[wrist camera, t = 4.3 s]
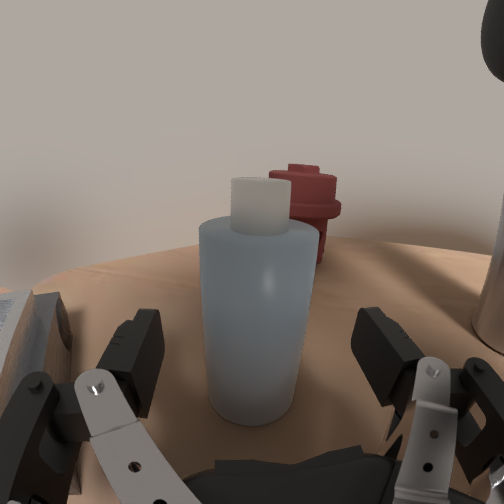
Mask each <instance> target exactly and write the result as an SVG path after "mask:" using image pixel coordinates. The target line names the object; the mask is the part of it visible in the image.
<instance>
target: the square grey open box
mask: <svg viewBox="0 0 504 504" xmlns="http://www.w3.org/2000/svg"><path fill="white" fill-rule="evenodd" d="M71 347H72V333H71V330H70V325H69V320H68V316H67V312H66V309H65V306H64V303H63V301H62V300H61V296H60V292H53V293H46V294H39V295H33V291H32V289H30V290H23V291H17V292H10V293H3V294H0V418H1V416H2V414H3V412H4V410H5V408H6V406H7V404H8V403H9V401H10V399H11V397H12V395H13V394H14V392H15V390H16V388H17V387H18V385H19V383H20V382H21V380H22V379H23V378H24V377H25V376H26V375H28V374H30V373H32V372H37V371H41V372H45V373H47V374H49V375H50V376H51V378H52V380H53V382H54V384H58V383H70V366H71ZM77 494H81V491H80V487H79V481H78V476H77V470H76V465H75V469H74V473H73V477H72V481H71V485H70V490H69V494H68V495H77Z"/></svg>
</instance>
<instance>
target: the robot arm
mask: <svg viewBox="0 0 504 504" xmlns="http://www.w3.org/2000/svg"><path fill="white" fill-rule="evenodd" d="M481 48H482V54H483V58H484V61H485V63H486V65H487V67H488V68H489V70H490V71H491V73H492V74H493V75H494V76H495V77H497V78H498V79H499V80H501V81H502V82H504V0H488V3H487V6H486V9H485V13H484V17H483V22H482V30H481ZM472 326H473V328H474V330H475V332H476V333H477V335H478V336H479V337H480V338H481V339H482V340H483V341H484V342H485V343H487V344H488V345H489V346H490V347H492V348H493V349H495V350H496V351H498V352H500V353H502V354H504V195H503V203H502V210H501V216H500V222H499V228H498V233H497V237H496V242H495V246H494V251H493V254H492V258H491V262H490V266H489V269H488V273H487V276H486V280H485V283H484V286H483V289H482V292H481V295H480V298H479V300H478V303H477V306H476V309H475V311H474V314H473V316H472ZM109 343H110V344H108V346H107V348H106V350H105V352H104V353H103V355H102V357H101V359H100V361H99V363H98V365H97V367H96V369H91V370H88V371H85V372H83V373H82V374H81V375H80V376H79V377H78V378H77V379H76V381H75V383H58V384H54V382H53V380H52V378H51V376H50V375H49V374H47V373H45V372H41V371H37V372H32V373H30V374H28V375H26V376H25V377H24V378H23V379H22V380H21V382H20V383H19V385H18V387H17V388H16V390H15V392H14V394H13V395H12V397H11V399H10V401H9V403H8V404H7V406H6V408H5V410H4V412H3V414H2V416H1V418H0V504H67V499H68V494H69V490H70V485H71V481H72V477H73V473H74V469H75V465H76V461H77V458H78V454H79V450H80V447H81V443H82V441H90V442H91V445H92V447H93V449H94V452H95V454H96V456H97V458H98V460H99V463H100V465H101V467H102V469H103V471H104V473H105V475H106V477H107V479H108V481H109V483H110V484H111V486H112V488H113V490H114V492H115V493H116V495H117V497H118V499H119V500H120V502H121V504H504V382H503V381H502V379H501V378H500V377H499V376H498V374H497V373H496V372H495V371H494V370H493V368H492V367H491V366H490V365H489V364H488V363H487V362H486V361H484V360H483V359H480V358H476V357H472V358H469V359H468V360H467V361H466V363H465V364H464V366H463V368H462V369H450V368H449V367H448V365H447V364H446V363H445V362H444V361H442V360H441V359H438V358H436V357H425V355H424V354H423V353H422V352H421V350H420V349H419V348H418V347H417V346H416V344H415V343H414V342H413V341H412V340H411V338H409V336H408V335H407V334H406V332H404V330H403V329H402V328H401V326H400V325H399V324H398V323H396V322H395V321H393V320H392V319H390V318H389V317H386V315H385V314H384V313H383V312H382V311H381V310H380V308H378V307H369V308H361V309H360V310H359V312H358V315H357V319H356V323H355V327H354V330H353V334H352V338H351V349H352V352H353V354H354V356H355V358H356V360H357V361H358V363H359V365H360V367H361V369H362V371H363V372H364V374H365V376H366V378H367V380H368V382H369V384H370V385H371V387H372V389H373V391H374V393H375V395H376V397H377V399H378V401H379V403H380V404H381V406H382V407H384V406H388V405H392V404H393V405H394V407H395V408H394V409H393V411H392V413H391V417H390V420H389V423H388V426H387V430H386V433H385V436H384V439H383V442H382V444H381V447H380V449H379V451H378V453H377V454H367V453H363V451H362V448H361V446H360V445H358V446H354V447H349V448H345V449H340V450H335V451H329V452H326V453H324V454H321V455H319V456H316V457H314V458H311V459H309V460H306V461H303V462H300V463H298V464H293V465H288V464H278V463H270V462H263V461H257V460H215V469H211V470H206V471H203V472H199V473H197V474H194V475H191V476H189V477H187V478H185V479H183V480H181V479H180V477H179V476H178V475H177V474H176V472H175V471H174V470H173V468H172V467H171V466H170V464H169V463H168V462H167V460H166V459H165V458H164V456H163V455H162V453H161V452H160V451H159V449H158V448H157V446H156V445H155V443H154V442H153V440H152V439H151V437H150V436H149V434H148V433H147V431H146V429H145V428H144V426H143V425H142V423H141V422H140V420H137V417H139V418H146V419H147V418H148V414H149V410H150V406H151V402H152V398H153V394H154V390H155V386H156V383H157V379H158V375H159V372H160V368H161V364H162V361H163V357H164V351H165V344H164V337H163V331H162V324H161V318H160V312H159V310H157V309H139V310H138V312H137V314H136V316H135V317H134V319H133V321H132V320H127V321H125V322H124V323H123V324H121V325H120V326H119V327H118V328H117V330H116V332H115V333H114V335H113V337H112V339H111V341H110V342H109ZM475 401H476V403H477V404H478V406H479V407H480V408H481V410H482V411H483V413H484V415H485V417H486V425H485V427H484V428H483V430H482V431H481V429H480V428H479V426H478V424H477V423H476V421H475V419H474V418H473V416H472V415H471V413H470V412H469V410H470V408H471V407H472V406H473V404H474V403H475ZM454 453H455V455H456V457H457V459H458V461H459V463H460V465H461V467H462V469H463V471H464V473H465V475H466V478H467V480H468V482H469V484H470V492H469V493H468V494H467V495H466V494H464V493H462V492H459V491H457V490H454V489H452V488H450V487H449V484H450V479H451V473H452V467H453V460H454Z"/></svg>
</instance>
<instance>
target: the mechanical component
mask: <svg viewBox="0 0 504 504" xmlns="http://www.w3.org/2000/svg"><path fill="white" fill-rule="evenodd" d="M269 178H274V179H283V180H288V181H291V197H290V212H289V219H293V220H297V221H301V222H304V223H306V224H309V225H311V226H313V227H314V228H316V229H317V230H318V231H319V243H318V251H317V260H316V263H320V262H321V260H322V254H323V253H324V245H325V239H326V231H327V222H328V219H333V218H336V217H337V216H339V215H340V212H341V203H340V202H339V201H338V200H335V193H336V182H337V178H336V177H335V176H333V175H328V174H321V173H319V166H313V165H302V164H301V165H300V164H288V171H285V170H283V171H282V170H275V171H274V170H273V171H270V172H269Z"/></svg>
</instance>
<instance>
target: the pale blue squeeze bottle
mask: <svg viewBox="0 0 504 504" xmlns="http://www.w3.org/2000/svg"><path fill="white" fill-rule="evenodd" d="M290 197H291V181H288V180H283V179H274V178H257V177H241V178H232V181H231V216H226V217H220V218H215V219H212V220H208V221H206V222H204V223H202V224H201V225H200V227H199V255H200V283H201V303H202V320H203V335H204V349H205V361H206V373H207V383H208V393H209V400H210V403H211V405H212V407H213V409H214V410H215V411H216V412H217V413H218V414H219V415H220V416H221V417H223V418H224V419H226V420H228V421H230V422H232V423H235V424H239V425H244V426H259V425H265V424H268V423H271V422H274V421H276V420H278V419H279V418H281V417H282V416H283V415H284V414H285V413H286V412H287V411H288V410H289V408H290V406H291V403H292V400H293V395H294V391H295V386H296V381H297V376H298V371H299V366H300V361H301V356H302V350H303V345H304V339H305V334H306V328H307V322H308V316H309V309H310V303H311V296H312V289H313V282H314V275H315V267H316V260H317V251H318V243H319V231H318V230H317V229H316V228H314V227H313V226H311V225H309V224H306V223H304V222H301V221H297V220H293V219H289V212H290Z"/></svg>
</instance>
